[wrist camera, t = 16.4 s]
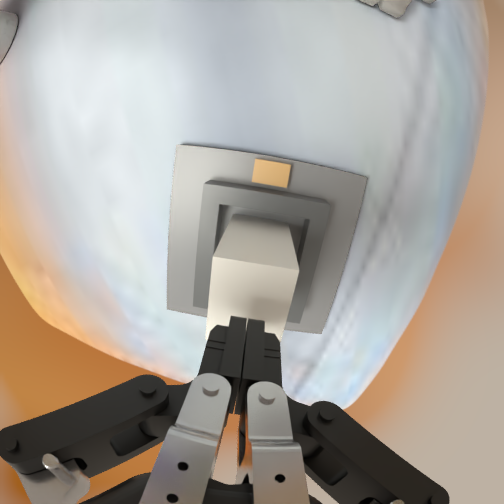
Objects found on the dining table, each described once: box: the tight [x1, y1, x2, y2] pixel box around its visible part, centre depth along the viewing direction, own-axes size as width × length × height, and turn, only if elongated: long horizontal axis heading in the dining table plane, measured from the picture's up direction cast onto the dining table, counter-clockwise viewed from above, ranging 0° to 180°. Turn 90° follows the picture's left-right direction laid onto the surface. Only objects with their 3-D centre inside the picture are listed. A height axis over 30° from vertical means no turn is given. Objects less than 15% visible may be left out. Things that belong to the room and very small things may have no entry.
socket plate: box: [167, 145, 367, 334], centre depth 20 cm, size 14×14×3 cm
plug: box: [205, 214, 299, 342], centre depth 17 cm, size 4×5×8 cm
